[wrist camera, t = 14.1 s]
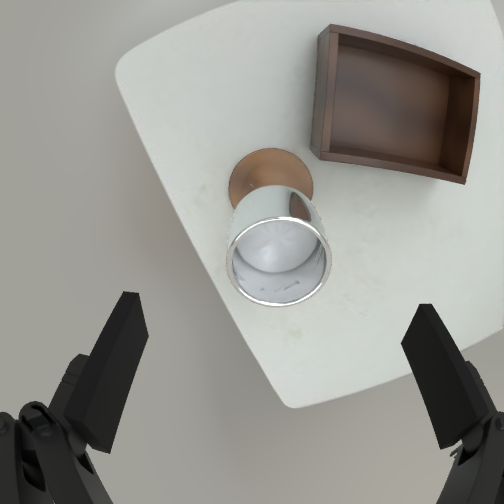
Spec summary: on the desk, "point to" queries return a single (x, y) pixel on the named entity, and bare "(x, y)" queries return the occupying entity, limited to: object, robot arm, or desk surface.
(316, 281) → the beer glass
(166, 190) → the desk surface
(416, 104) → the crate
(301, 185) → the coaster
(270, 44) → the desk surface
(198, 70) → the desk surface
